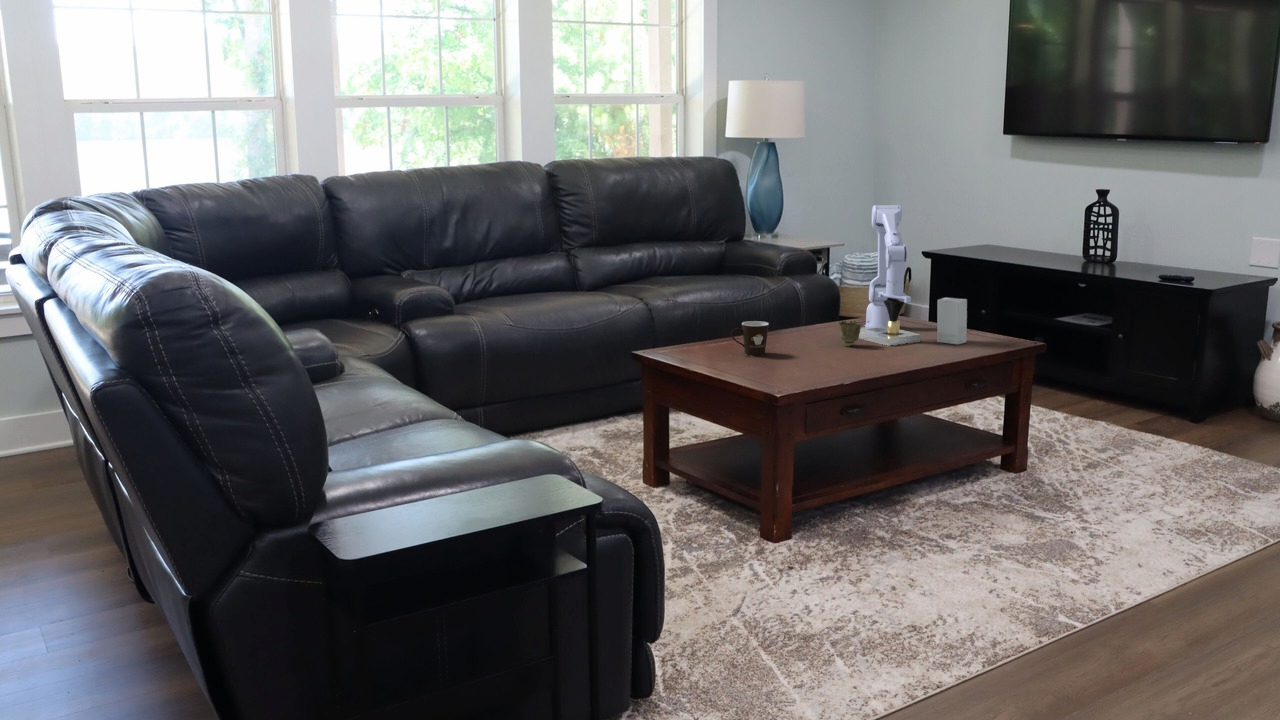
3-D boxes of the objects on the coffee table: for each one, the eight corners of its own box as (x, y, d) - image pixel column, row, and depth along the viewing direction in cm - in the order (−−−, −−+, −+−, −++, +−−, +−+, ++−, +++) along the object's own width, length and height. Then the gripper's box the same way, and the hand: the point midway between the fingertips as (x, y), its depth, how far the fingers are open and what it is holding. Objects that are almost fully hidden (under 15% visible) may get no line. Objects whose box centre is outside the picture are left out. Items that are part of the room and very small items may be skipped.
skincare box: (966, 342, 368) (969, 299, 365) (957, 345, 364) (959, 301, 361) (944, 339, 374) (946, 296, 371) (935, 341, 370) (937, 298, 367)
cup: (859, 343, 368) (860, 320, 366) (861, 348, 360) (862, 324, 359) (836, 343, 368) (837, 320, 367) (838, 348, 361) (839, 324, 359)
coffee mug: (770, 351, 356) (770, 321, 354) (765, 357, 348) (766, 326, 346) (735, 350, 360) (735, 320, 357) (729, 355, 351) (730, 325, 349)
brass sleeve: (884, 340, 373) (885, 320, 371) (893, 339, 375) (894, 319, 373) (892, 342, 369) (893, 322, 368) (901, 341, 371) (902, 321, 370)
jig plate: (849, 336, 381) (850, 328, 380) (880, 331, 387) (881, 325, 387) (888, 346, 364) (889, 338, 363) (920, 341, 370) (920, 334, 370)
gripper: (918, 283, 363) (917, 323, 366) (890, 277, 376) (889, 316, 379) (902, 284, 360) (900, 325, 363) (874, 279, 373) (872, 318, 376)
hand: (893, 320), depth 370 cm, fingers closed, pressing on brass sleeve
